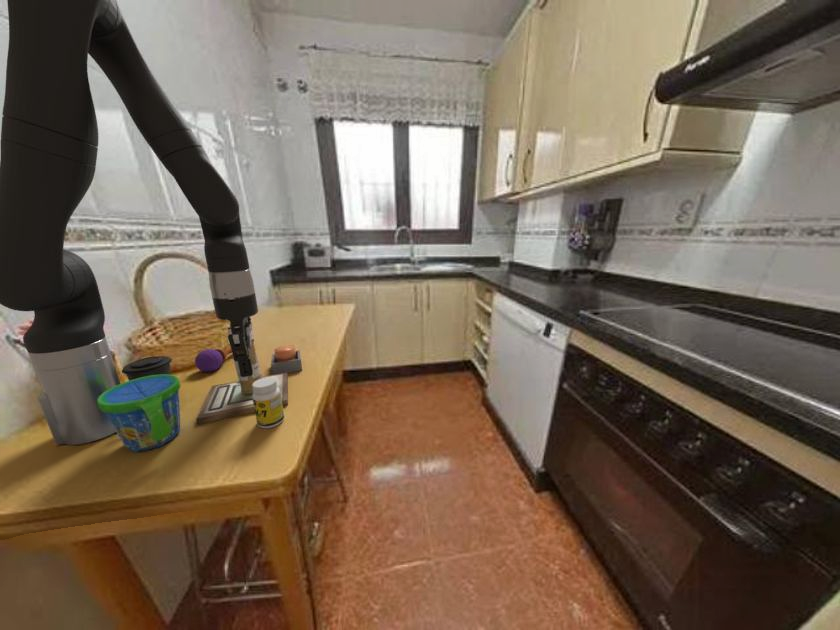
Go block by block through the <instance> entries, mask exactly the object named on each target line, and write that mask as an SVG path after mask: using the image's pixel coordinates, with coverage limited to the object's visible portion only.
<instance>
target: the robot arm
mask: <svg viewBox="0 0 840 630" xmlns="http://www.w3.org/2000/svg"><path fill="white" fill-rule="evenodd" d="M6 2H7V3H6V4H7V10H8V11H7V13H8V49H7V58H6V69H5V87H4V89H5V92H4V100H3V105H2V106H3V107H2V113H1V114H2V118H1V129H0V131H1V132H0V305H1V306H3V307H5V308H8V309H10V310H13V311H18V312H33V313H34V314H33V315H34V317H33V322H32V323H31V325H30V327H29V328H28V329H27V330H26V331H25V332H24V334H23V335H22V340H23V344H24V346H25V349H26V351H27V354H28V356H29V359H30V363H32V367H33V369H34V372H35V374H36V377H37V379H38V381H39V382H38V383H39V384H40V386H41V389H42V392H41V393H40V394H39V395H38V396H37V401H38V403H39V407H40V408H41V411H42V413H43V416H44V418H45V421H46V424H47V426H48V429H49V431H50V434H51V436H52V439H53V440H54V444H55V445H56V446H59V445H69V446H70V445H71V446H76V445H83V444H89V443H91V442H96V441H98V440H101V439H104V438H107V437H108V436H111V435H113V434H115V433H117V432H116V430H115V429H114V427H113V425H112V424H111V422H110V421H109V419H108V417H107V415H106V413H104V412H103V411H101V410H100V409H99V406H98V403H97V399H98V397H99V396H100V395H101V394H102V393H104V392H105V391H107V390H108V389H110V388H112V387H114V386H117V385H119V384H122V383H121V381H120V377H119V374H118V372H117V371H118V370H117V369H116V365H115V361H114V359H113V355H112V352H111V350H110V347H109V343H108V341H107V337H106V332H105V329H104V326H105V321H106V316H105V309H104V306H103V302H102V298H101V297H102V296H101V293H100V288H99V285H98V282H97V279H96V277H95V274H94V271H93V270H92V268H91V267H90V265H89V264H88V263H87V262H86V261H85V259H84V258H82V257H81V256H79V255H78V254H76V253H74V252H72V251H69V250H67V249H64V246H65V245H64V244H65V236H66V230H67V227H68V224H69V221H70V219H71V217H72V216H73V214H74V212H75V210H76V209H77V207H79V205H80V203H81V202H82V200H83V199H84V197H85V195H86V193H88V191H89V189H90V187H91V184H92V183H93V180H94V177H95V173H96V168H97V167H96V166H97V160H98V159H97V158H98V150H99V148H98V147H99V127H98V118H97V113H96V109H95V104H94V100H93V95H92V91H91V86H90V81H89V74H88V55H89V56H90V57H91V59H93V61H94V62H95V63H96V64H97V65H98V67H99V69H100V70H102V72H103V73H104V75H105V76H106V77H107V79H108V81H110V83H111V85H112V86H113V87H114V89H115V91H116V92H117V94H118V96H119V98H120V99H121V101H122V103H123V105H124V106H125V109H126V111H127V112H128V114H129V116H130V118H131V120H132V121H133V123H134V125H135V126H136V128H137V129H138V131H139V133H140V134H141V135H142V137H143V139H144V140H145V142H146V143H147V144H148V146H149V147H150V148H151V150H152V151H153V153H154V154H155V156H156V157H157V158H158V160H159V161H160V163H161V164H162V165H163V166H164V168H165V169H166V170H167V172H168V173H169V174H170V175H171V176H172V177H173V179H174V180H175V182H176V184H177V185H178V187H179V189H180V190H181V192H182V194H183V195H184V196H185V198H186V199H187V201H188V202H189V205H190V206H191V207H192V209H193V211H194V212H195V213H196V215H197V216H198V219H199V222H200V226H201V230H202V231H201V232H202V236H203V238H204V245H203V247H204V256H205V262H206V267H207V272H208V281H209V282H208V283H209V289H210V291H211V292H210V293H211V297H212V302H213V303H212V304H213V308H214V312H215V316H216V318H217V319H218V320H221V321H226V320H227V321H229V322H230V324H229V327H227V333H228V334H229V335H228V334H227V340H228V339H229V340H228V343H229V342H230V343H229V345H230V348H231V350H232V353H231V354H232V356H233V357H232V358H233V362H234V361H238V365H239V370H240V375H241V377H247V376H251V375H252V374H253V370H252V364H251V359H250V357H251V355H250V350H249V348H250V347H251V346H252V344H251V336H250V333H251V330H252V333H253V334H254V332H253V323H252V321H251V320H252V318H251V317H253V316H255V315H257V314H258V312H259V307H258V302H257V295H256V290H255V285H254V279H253V276H252V273H251V269H250V263H249V258H248V252H247V249H246V246H245V243H244V240H243V239H244V238H243V232H242V223H241V217H240V204H239V201H238V199H237V196H236V195H235V194H234V192H233V191H232V190H231V188H230V186H229V185H228V183H227V182H226V181H225V179H224V178H223V177H222V176H221V174H220V173H219V171H218V170H217V168H216V167H215V166H214V165H213V164H212V162H211V160H210V158H209V155H208V154H207V152H206V150H205V149H204V147H203V145H202V144H201V142H200V141H199V139H198V138H197V136H196V135H195V133H194V132H193V130H192V129H191V127H190V125H189V124H188V123H187V121H186V120H185V117H183V115H182V114H181V112H180V110H179V109H178V108H177V106H176V105H175V103H174V102H173V101H172V99H171V98H170V97H169V95H168V94H167V92H166V91H165V89H164V88H163V87H162V85H161V84H160V83H159V81H158V79H157V78H156V77H155V75H154V73H153V72H152V70H151V68H150V66H149V64H148V63H147V60H146V59H145V58H144V56H143V54H142V52H141V50H140V48H139V47H138V45H137V42H136V40H135V38H134V36H133V34H132V32H131V30H130V28H129V25H128V23H127V22H126V20H125V18H124V14H123V13H122V10H121V8H120V6H119V3H118V0H6ZM246 341H247V343H246ZM254 341H255V338H253V342H254ZM239 351H244V354H239Z"/></svg>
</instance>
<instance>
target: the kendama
mask: <svg viewBox="0 0 840 630" xmlns="http://www.w3.org/2000/svg"><path fill="white" fill-rule="evenodd" d="M230 354H232V350H231V347H229V348H228V349H226V350H224V349H219V348H217V349H216V348H215V349H211V348H209V349H207V348H206V349H204V350H201V351H200V352H199V353H198V354H197V355H196V356H195V358H194V364H195V366H196V368H197V369H198V370H199V371H200V372H204V373H211V372H214V371H216V370H218V369H219V368H220V367H221V366H222V364H223V363H224V362H225V361H226V358H227V357H228V355H230Z"/></svg>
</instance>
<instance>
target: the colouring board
mask: <svg viewBox="0 0 840 630" xmlns="http://www.w3.org/2000/svg"><path fill="white" fill-rule="evenodd" d="M260 374H261V378H267V377H272V378H275V379H276V382H277V387H278V388H279V389H280V393H281V399H282V405H283V407H285V406H289V381H288V380H289V378H288V377H289V376H288V373H281V374H276V375H273V374H271V375H266V376H265V375H264V376H263V373H260ZM252 395H253V393H252V394H243V393H242V392H241V386H240V382H239V379H237V381H234V382H233V381H232V382H227V383H225V382H224V383H221V384H215V385H212V386H211V387H210V389H209V391H208V394H207V396H206V397H205V399H204V402H203V404H202V405H201V408H200V410H199V412H198V414H197V417H195V418H196V422H197V423H196V424H197V425H200V424H204V423H209V422H215V421H219V420H224V419H229V418H233V417H236V416H243V415H247V414H252V413H255V410H254V404H253V399H252Z"/></svg>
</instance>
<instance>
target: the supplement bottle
mask: <svg viewBox="0 0 840 630" xmlns="http://www.w3.org/2000/svg"><path fill="white" fill-rule="evenodd" d="M252 386H253V392H254V393H253V395H252V399H253V404H254V410H255V412H254V415H255V419H256V424H257V426H258V427H259V428H262V429H271V428H275V427H277V426H278V425H280V424H281V423H283V422H284V420H285V413H284V406H283V405H282V399H281V393H280V389H279V388H278V387H277V382H276V379H275V378H272V377H267V378H262V379H259V380H257V381H255V382H254V383H253V384H252Z"/></svg>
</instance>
